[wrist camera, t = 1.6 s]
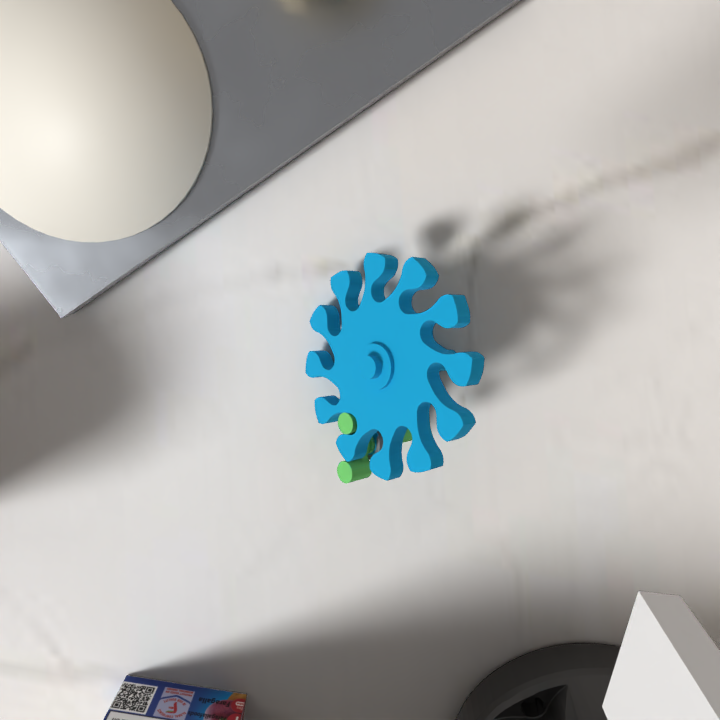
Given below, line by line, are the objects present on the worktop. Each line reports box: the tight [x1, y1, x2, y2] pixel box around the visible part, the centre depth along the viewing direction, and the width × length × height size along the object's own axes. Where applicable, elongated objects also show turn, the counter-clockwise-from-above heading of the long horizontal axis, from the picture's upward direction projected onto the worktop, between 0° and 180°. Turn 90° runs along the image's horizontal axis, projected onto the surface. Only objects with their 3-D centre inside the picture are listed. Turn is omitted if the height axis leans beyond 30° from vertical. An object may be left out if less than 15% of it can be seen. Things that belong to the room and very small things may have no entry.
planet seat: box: [0, 0, 213, 242], centre depth 25 cm, size 12×12×1 cm
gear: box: [306, 253, 485, 483], centre depth 27 cm, size 11×6×10 cm
